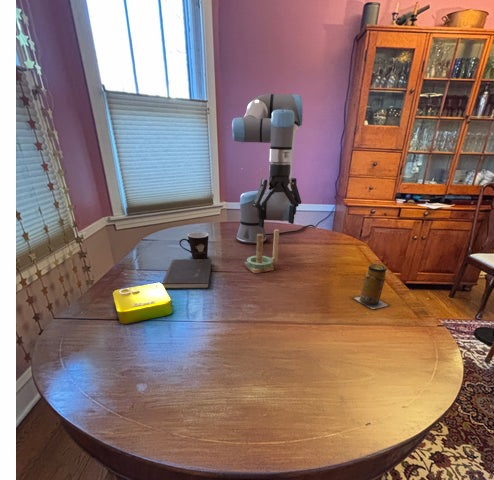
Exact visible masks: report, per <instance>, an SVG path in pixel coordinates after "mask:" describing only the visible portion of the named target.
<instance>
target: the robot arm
mask: <svg viewBox="0 0 494 480" xmlns="http://www.w3.org/2000/svg"><path fill="white" fill-rule="evenodd" d="M302 98H303V97H302V96H301V95H299V94H293V93H290V94H286V93H266V94H261V95H259V96H257V97H255V98H253V99H252V100H251V101H250V102H249V103H248V105H247V107H246V112H245V114H244V116H243V117H242V116H240V117H234V118H233V119H232V123H231V132H232V133H231V136H232V139H233V141H234V142H237V143H242V144H243V143H260V144H261V143H263V144H270V146H269V148H270V149H269V163H270V164H269V165H268V166H269V167H268V175H269V178H268V179H266V178H261V179H260V185H259V188H258V190H252V191H245V192H243V193H242V194H240V197H239V198H240V199H239V211H240V212H239V227H238V231H237V233H236V241H237V242H238V243H241V244H245V245H257V234H263V244H264V243H266V242H267V236H274V232H273V233H272V232H271V233H266V230H265V221H278V222H279V221H280V222H287V223H289V224H291V225H294V222H295V215H297V208H298V207H299V205H301V204H302V198H301V195H300V192H299V188H298V185H297V178H295V177H293V164H294V151H295V139H296V133H297V132H298V131H299V130H300V127H301V126H303V120H304V119H303V113H304V111H303V99H302ZM267 187H268V188H267ZM309 227H312V228H314V229H315V228H316V226H315V225H314V224H307V225H305V226H302V227H301V228H300V229H296V230H295V229H294V230H289V231H281V232H279V235H284V234H292V233H298V232H301V231H302V230H303V229H306V228H309Z"/></svg>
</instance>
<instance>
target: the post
mask: <svg viewBox="0 0 494 480" xmlns="http://www.w3.org/2000/svg"><path fill="white" fill-rule="evenodd" d="M263 247H264V243H263V234H257V244H256V248H255V249H256V252H255V253H256V254H255V256H256V261H254V263H267V262H264V261H262V256H263ZM243 266H244V267H245V268H246V269H248V270H249V271H250V272H252V273H253V274H259V273H264V272H269V271H270V272H271V271H274V270H275V266H274V265H273V266H272V267H270V268H266V269H254V268H250V267H249V266H247V261H244V262H243Z"/></svg>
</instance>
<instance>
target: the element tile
mask: <svg viewBox="0 0 494 480" xmlns="http://www.w3.org/2000/svg"><path fill="white" fill-rule="evenodd" d="M112 296H113V301H114V305H115V309H116V314H117V317H118V321H119V323H121V324H123V325H128V324H129V325H130V324H133V323H139V322H143V321H147V320H152V319H157V318H162V317H166V316H169V315H171V314H172V313H173V311H174V310H173V302H172V301H173V300H172V298H171V296H170V294H169V293H168V291H167V289H165V288H164V286H163V285H162V282H161V283H160V282H155V283H149V284H143V285H138V286H130V287H126V288H125V287H124V288H120V289H115V290H114V291H113V292H112Z"/></svg>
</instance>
